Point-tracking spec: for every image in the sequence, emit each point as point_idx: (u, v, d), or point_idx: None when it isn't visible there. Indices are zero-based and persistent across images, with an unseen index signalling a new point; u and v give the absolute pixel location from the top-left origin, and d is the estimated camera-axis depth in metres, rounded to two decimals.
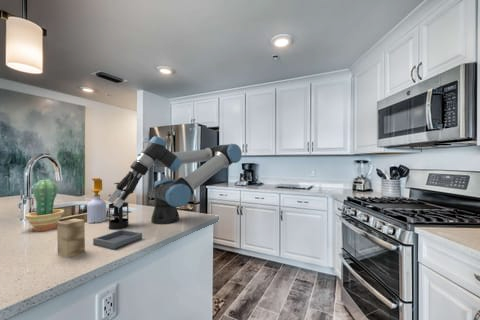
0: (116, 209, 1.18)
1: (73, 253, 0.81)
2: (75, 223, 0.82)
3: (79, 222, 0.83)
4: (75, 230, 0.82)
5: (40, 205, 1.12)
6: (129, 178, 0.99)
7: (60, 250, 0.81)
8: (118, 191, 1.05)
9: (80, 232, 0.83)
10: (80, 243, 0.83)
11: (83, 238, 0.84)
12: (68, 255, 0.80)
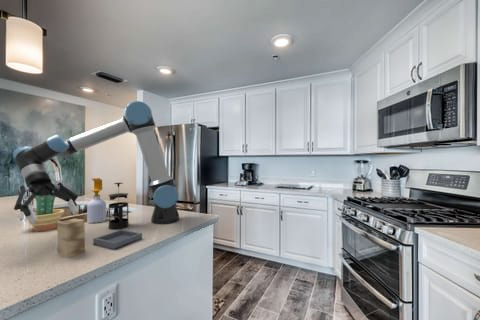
0: (116, 209, 1.18)
1: (73, 253, 0.81)
2: (75, 223, 0.82)
3: (79, 222, 0.83)
4: (75, 230, 0.82)
5: (40, 205, 1.12)
6: None
7: (60, 250, 0.81)
8: (69, 202, 0.93)
9: (80, 232, 0.83)
10: (80, 243, 0.83)
11: (83, 238, 0.84)
12: (68, 255, 0.80)
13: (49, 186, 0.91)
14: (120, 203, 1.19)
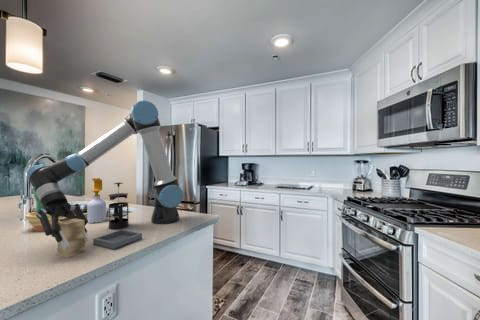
0: (116, 209, 1.18)
1: (73, 253, 0.81)
2: (75, 223, 0.82)
3: (79, 222, 0.83)
4: (75, 230, 0.82)
5: (40, 205, 1.12)
6: None
7: (60, 250, 0.81)
8: None
9: (80, 232, 0.83)
10: (80, 242, 0.83)
11: (83, 238, 0.84)
12: (68, 255, 0.80)
13: (65, 207, 0.87)
14: (120, 203, 1.19)
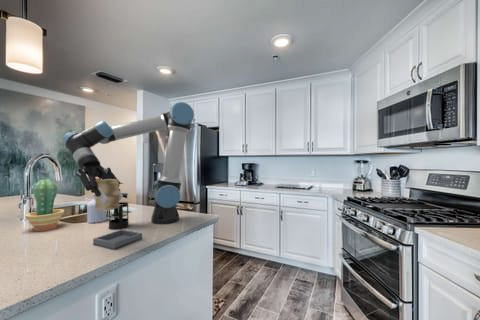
0: (116, 209, 1.18)
1: (110, 207, 0.90)
2: (111, 181, 0.90)
3: (114, 180, 0.91)
4: (111, 187, 0.90)
5: (40, 205, 1.12)
6: None
7: (98, 205, 0.89)
8: None
9: (115, 189, 0.92)
10: (115, 199, 0.92)
11: (117, 195, 0.93)
12: (106, 208, 0.88)
13: (99, 168, 0.95)
14: (120, 203, 1.19)
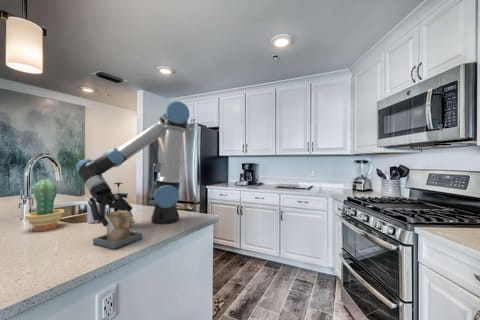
0: (116, 209, 1.18)
1: None
2: (122, 213, 0.93)
3: (125, 213, 0.94)
4: (122, 219, 0.93)
5: (40, 205, 1.12)
6: None
7: (109, 237, 0.92)
8: None
9: (126, 222, 0.94)
10: (126, 231, 0.95)
11: (128, 227, 0.95)
12: None
13: (111, 196, 0.98)
14: None
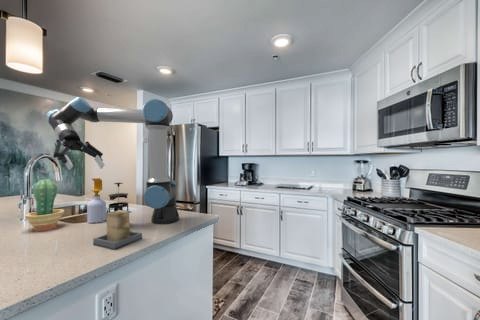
0: (116, 209, 1.18)
1: None
2: (122, 213, 0.93)
3: (125, 213, 0.94)
4: (122, 219, 0.93)
5: (40, 205, 1.12)
6: None
7: (109, 237, 0.92)
8: (96, 157, 1.07)
9: (126, 222, 0.94)
10: (126, 231, 0.95)
11: (128, 227, 0.95)
12: None
13: (79, 142, 1.05)
14: (120, 203, 1.19)
